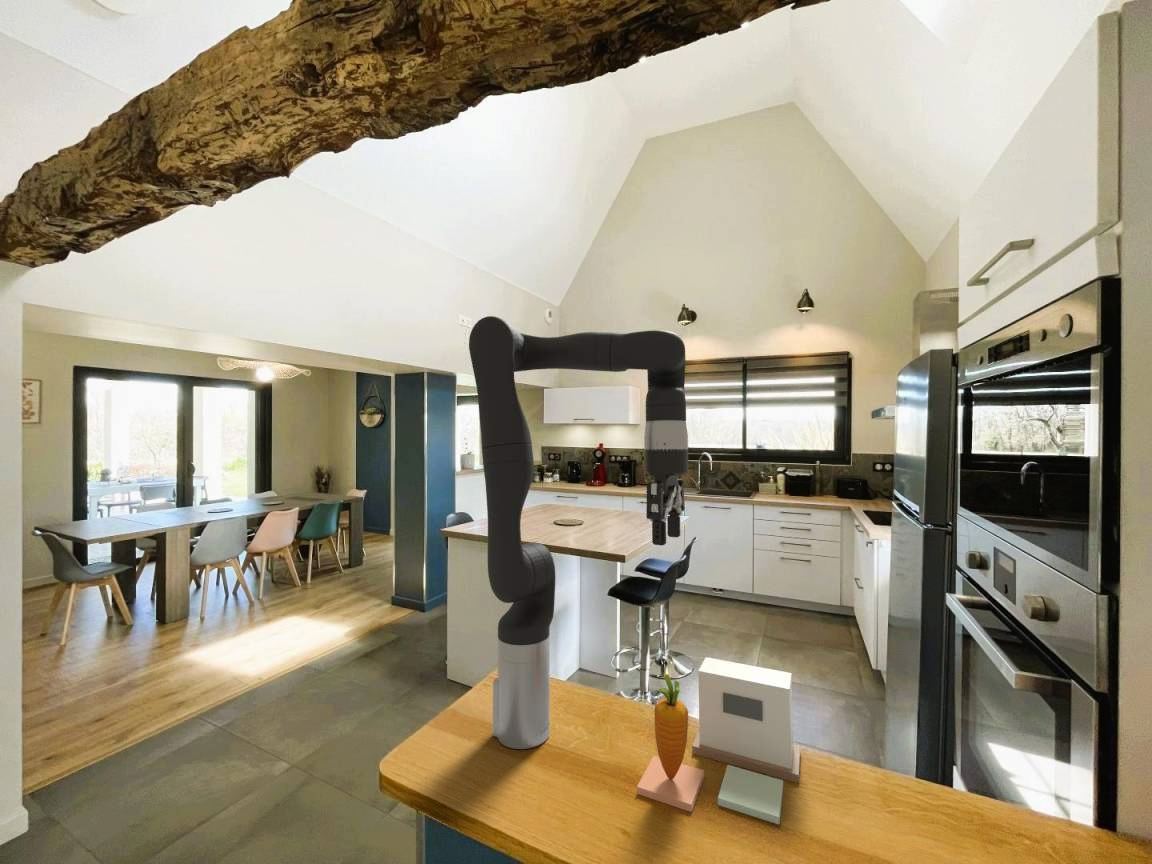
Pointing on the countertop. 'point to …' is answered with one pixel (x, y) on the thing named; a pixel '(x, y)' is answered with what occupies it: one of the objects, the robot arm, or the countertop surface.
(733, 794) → the sage tile
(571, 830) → the countertop surface
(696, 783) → the terracotta tile
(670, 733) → the carrot
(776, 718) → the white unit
